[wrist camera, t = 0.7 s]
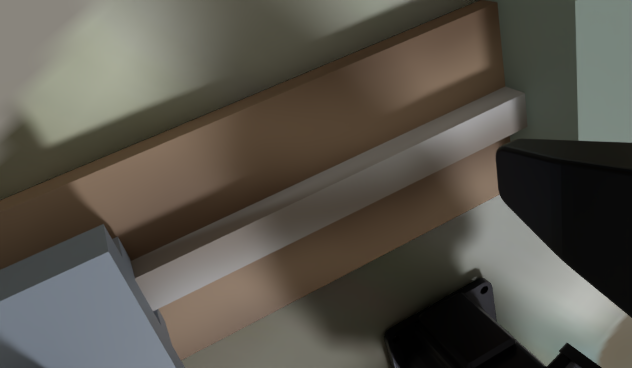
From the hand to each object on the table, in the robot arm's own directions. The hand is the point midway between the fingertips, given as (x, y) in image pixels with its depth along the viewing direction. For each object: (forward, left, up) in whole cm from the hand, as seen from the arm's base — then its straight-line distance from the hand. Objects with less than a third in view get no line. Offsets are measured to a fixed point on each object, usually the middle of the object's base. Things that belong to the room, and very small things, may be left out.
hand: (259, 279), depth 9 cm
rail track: (-6, -1, -13) cm, 14 cm away
